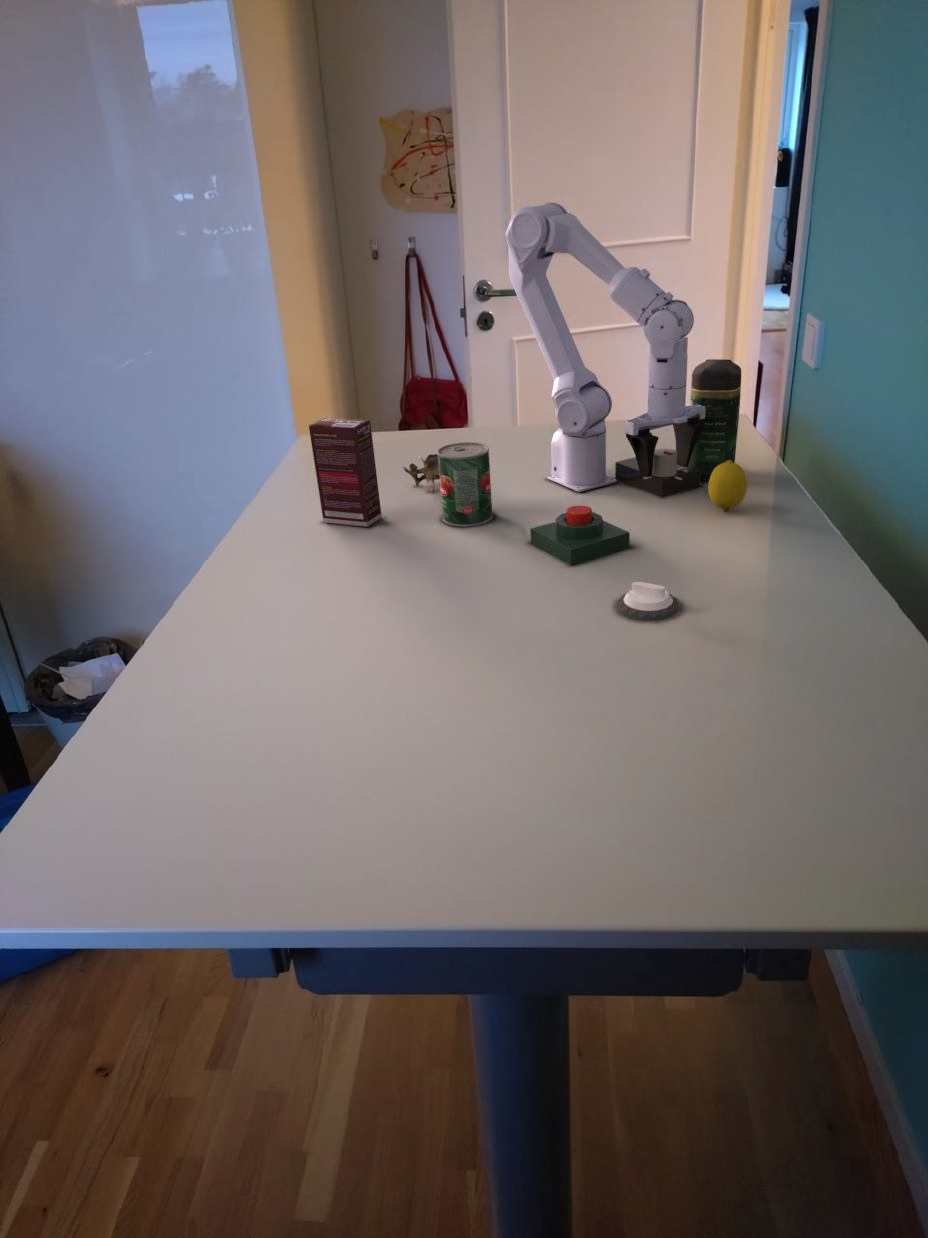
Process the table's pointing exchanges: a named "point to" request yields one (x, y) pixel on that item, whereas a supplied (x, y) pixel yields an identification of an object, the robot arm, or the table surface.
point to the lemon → (727, 485)
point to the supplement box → (346, 471)
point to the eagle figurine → (426, 471)
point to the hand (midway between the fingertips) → (664, 470)
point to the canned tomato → (465, 484)
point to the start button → (578, 515)
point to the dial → (665, 463)
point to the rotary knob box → (657, 478)
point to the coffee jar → (716, 413)
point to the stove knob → (648, 602)
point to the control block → (579, 539)
